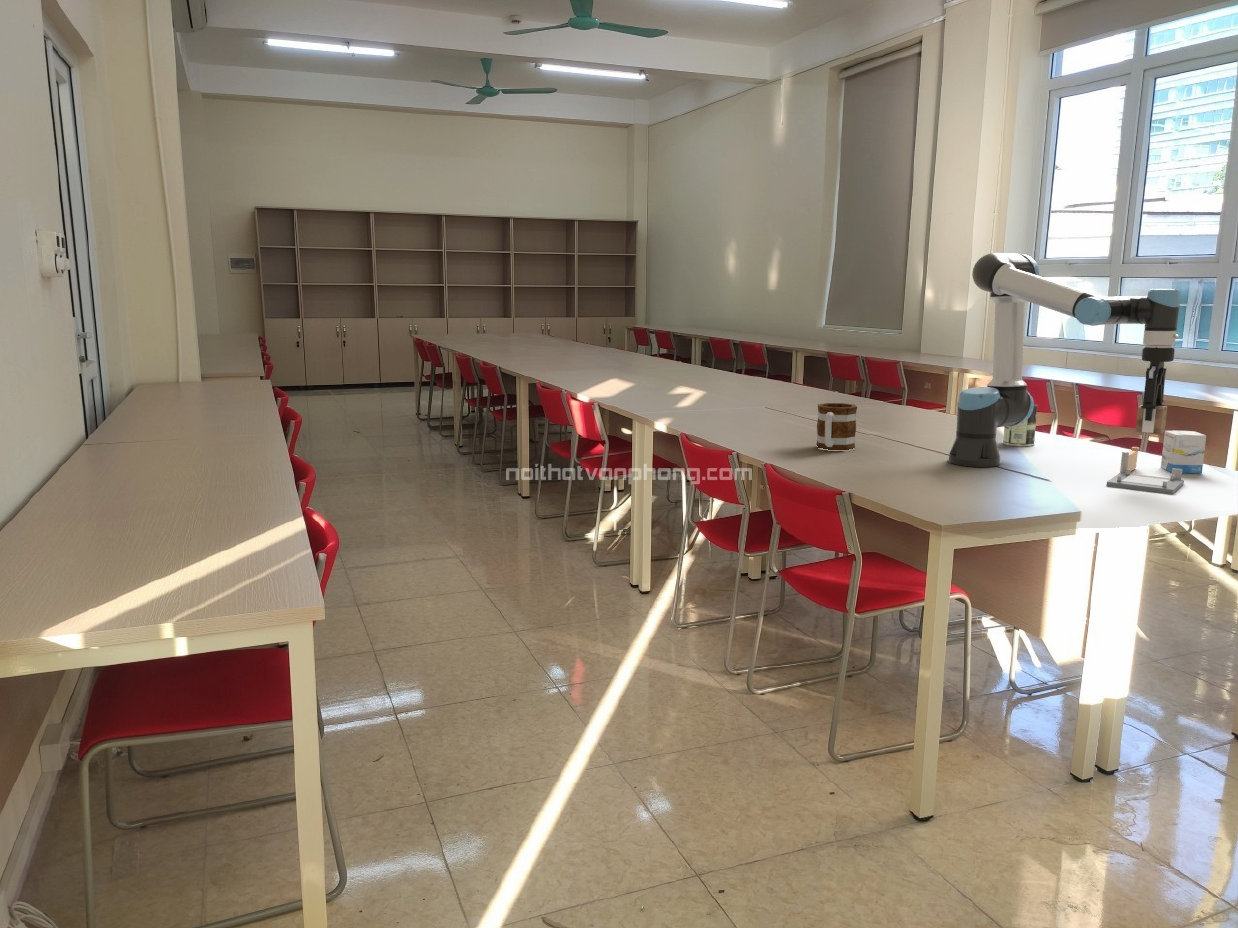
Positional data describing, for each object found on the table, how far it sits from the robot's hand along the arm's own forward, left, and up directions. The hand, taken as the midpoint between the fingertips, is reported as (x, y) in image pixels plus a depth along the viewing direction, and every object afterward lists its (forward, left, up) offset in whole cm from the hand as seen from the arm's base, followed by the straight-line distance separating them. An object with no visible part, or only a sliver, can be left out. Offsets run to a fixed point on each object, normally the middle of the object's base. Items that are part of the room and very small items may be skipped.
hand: (1150, 430), depth 247 cm
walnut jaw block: (0, 0, 0) cm, 0 cm away
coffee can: (-48, +46, -16) cm, 68 cm away
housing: (0, +1, -15) cm, 15 cm away
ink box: (+4, +29, -16) cm, 33 cm away
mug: (-93, -5, -16) cm, 94 cm away
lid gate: (-7, +18, -15) cm, 24 cm away
